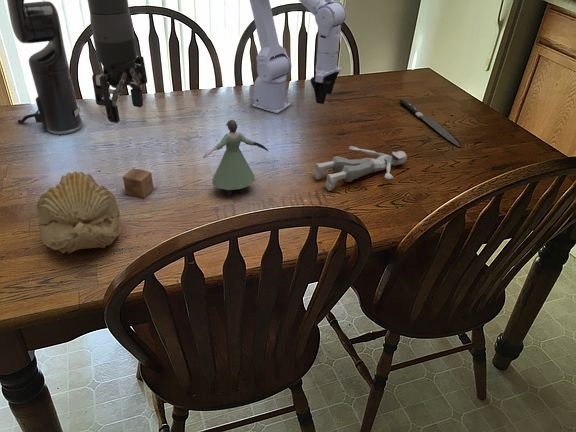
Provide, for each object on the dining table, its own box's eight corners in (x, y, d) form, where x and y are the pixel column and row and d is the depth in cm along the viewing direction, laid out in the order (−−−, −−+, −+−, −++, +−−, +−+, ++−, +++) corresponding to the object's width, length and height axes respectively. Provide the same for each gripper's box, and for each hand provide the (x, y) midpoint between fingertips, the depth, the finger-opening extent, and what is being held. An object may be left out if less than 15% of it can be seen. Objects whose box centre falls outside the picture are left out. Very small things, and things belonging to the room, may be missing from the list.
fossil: (46, 277, 92) (24, 211, 83) (42, 224, 105) (23, 162, 96) (130, 258, 97) (117, 194, 89) (117, 209, 110) (105, 149, 101)
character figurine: (262, 174, 124) (263, 106, 114) (275, 191, 118) (277, 121, 108) (200, 186, 119) (194, 116, 108) (210, 205, 113) (205, 133, 102)
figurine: (340, 203, 116) (425, 179, 125) (342, 185, 112) (429, 162, 122) (304, 167, 128) (384, 148, 138) (305, 150, 125) (387, 131, 134)
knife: (466, 148, 141) (467, 144, 140) (454, 149, 140) (456, 144, 139) (407, 101, 165) (409, 97, 164) (397, 101, 163) (398, 97, 163)
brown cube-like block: (125, 193, 116) (122, 176, 113) (136, 184, 119) (133, 167, 116) (143, 198, 114) (141, 181, 112) (153, 189, 118) (151, 172, 115)
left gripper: (107, 48, 89) (122, 131, 99) (151, 28, 100) (160, 104, 110) (72, 42, 91) (90, 124, 100) (118, 23, 102) (130, 98, 111)
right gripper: (335, 61, 129) (330, 110, 137) (348, 45, 140) (343, 91, 148) (309, 57, 130) (306, 105, 138) (324, 41, 142) (320, 87, 150)
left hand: (126, 113), depth 105 cm, fingers open, 8 cm apart
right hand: (323, 98), depth 143 cm, fingers open, 7 cm apart
